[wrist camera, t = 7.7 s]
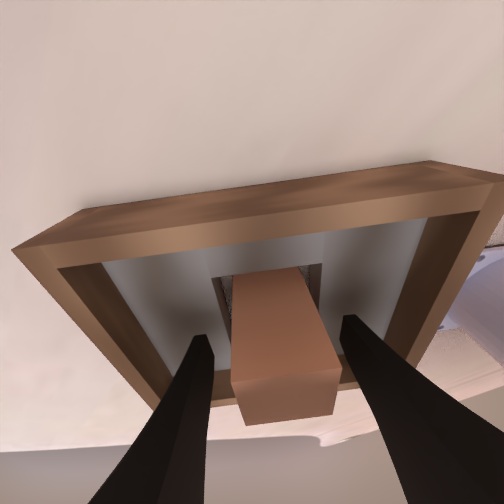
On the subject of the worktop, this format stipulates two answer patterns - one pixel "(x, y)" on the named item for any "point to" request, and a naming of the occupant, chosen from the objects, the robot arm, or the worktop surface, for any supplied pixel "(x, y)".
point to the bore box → (268, 262)
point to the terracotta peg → (280, 349)
